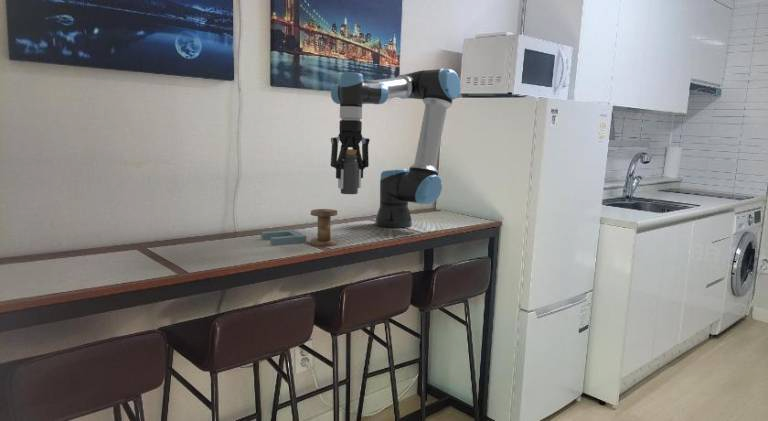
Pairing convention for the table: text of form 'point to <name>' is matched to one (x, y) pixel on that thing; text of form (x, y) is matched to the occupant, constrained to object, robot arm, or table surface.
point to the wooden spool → (324, 227)
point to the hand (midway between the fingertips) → (349, 187)
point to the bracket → (284, 237)
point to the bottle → (350, 173)
